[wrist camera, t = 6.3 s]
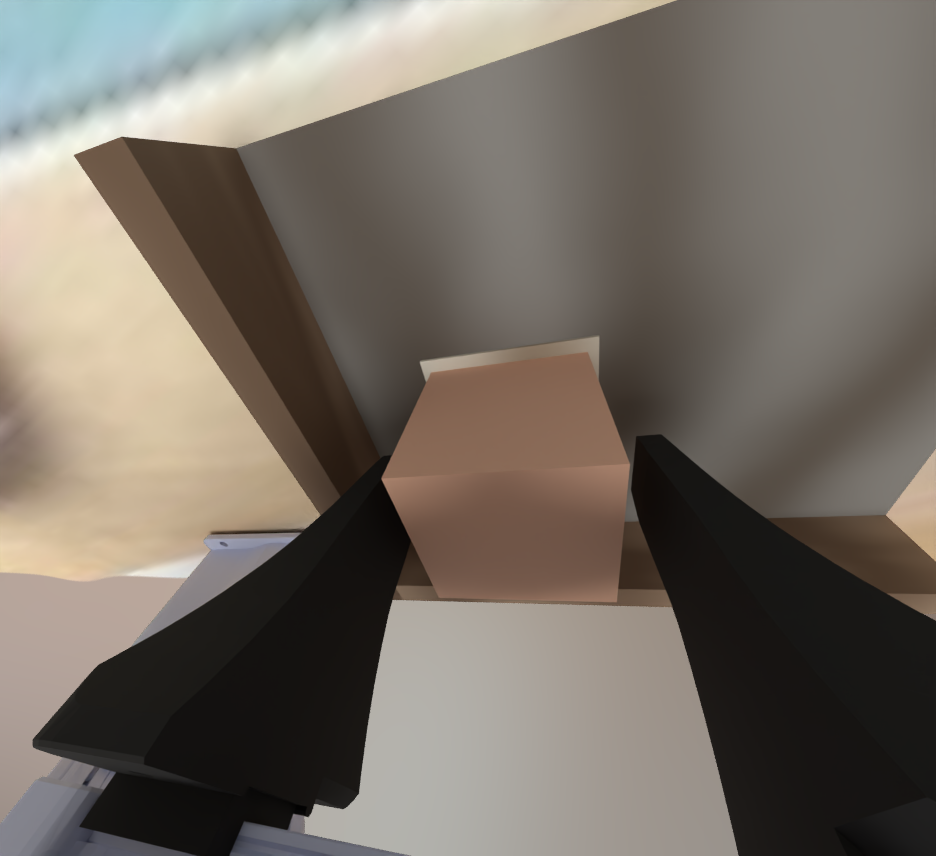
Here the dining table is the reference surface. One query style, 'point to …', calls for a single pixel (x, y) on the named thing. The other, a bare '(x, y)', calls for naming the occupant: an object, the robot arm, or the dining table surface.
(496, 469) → the cube
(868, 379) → the tray
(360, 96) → the dining table surface
